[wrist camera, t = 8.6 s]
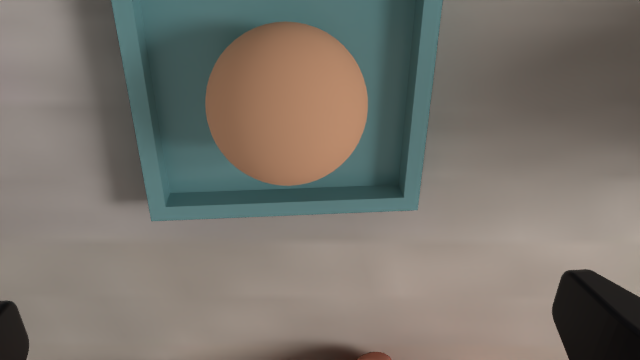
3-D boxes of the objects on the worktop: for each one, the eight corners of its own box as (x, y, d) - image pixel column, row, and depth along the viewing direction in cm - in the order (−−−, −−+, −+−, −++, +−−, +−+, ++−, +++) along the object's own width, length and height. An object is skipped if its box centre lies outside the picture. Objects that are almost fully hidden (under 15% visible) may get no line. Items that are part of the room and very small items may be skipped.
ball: (380, 89, 19) (417, 150, 15) (273, 166, 20) (278, 245, 16) (296, -28, 17) (310, 5, 13) (180, 67, 18) (157, 127, 14)
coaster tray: (438, -83, 17) (452, -80, 16) (408, 190, 22) (417, 210, 21) (110, -85, 16) (96, -81, 15) (158, 199, 21) (151, 220, 20)
